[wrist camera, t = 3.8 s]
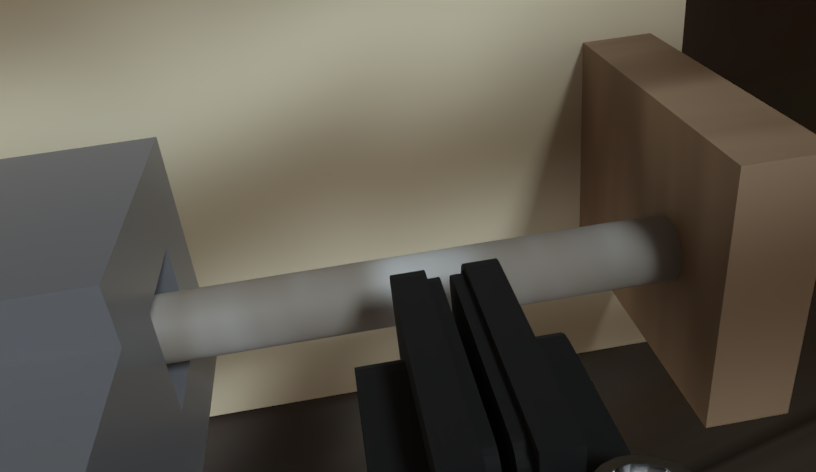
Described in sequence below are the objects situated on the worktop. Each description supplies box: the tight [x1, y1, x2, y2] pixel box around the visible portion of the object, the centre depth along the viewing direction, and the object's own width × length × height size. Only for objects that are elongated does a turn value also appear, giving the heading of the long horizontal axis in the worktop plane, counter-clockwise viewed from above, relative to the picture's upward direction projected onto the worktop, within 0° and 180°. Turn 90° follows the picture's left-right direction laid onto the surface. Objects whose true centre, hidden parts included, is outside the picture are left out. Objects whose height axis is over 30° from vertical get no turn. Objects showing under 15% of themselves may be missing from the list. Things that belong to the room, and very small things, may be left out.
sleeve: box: [0, 137, 217, 472], centre depth 11 cm, size 5×4×8 cm
